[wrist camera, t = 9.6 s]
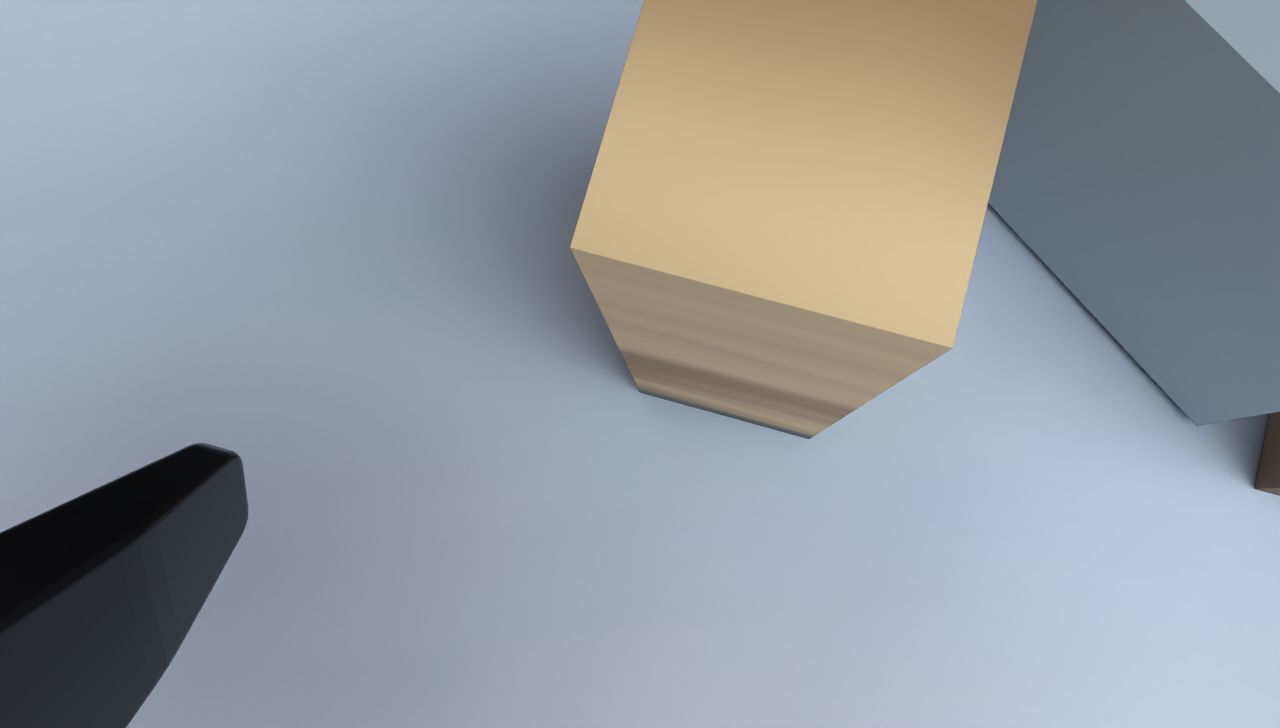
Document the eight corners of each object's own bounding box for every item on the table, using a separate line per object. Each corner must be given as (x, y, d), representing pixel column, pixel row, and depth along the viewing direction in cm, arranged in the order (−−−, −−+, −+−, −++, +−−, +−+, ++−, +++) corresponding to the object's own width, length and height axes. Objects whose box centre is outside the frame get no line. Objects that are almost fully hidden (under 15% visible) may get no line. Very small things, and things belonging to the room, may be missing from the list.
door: (1196, 425, 21) (1557, 364, 12) (806, 8, 23) (873, -304, 14) (1236, 391, 21) (1624, 305, 12) (844, -23, 23) (935, -353, 14)
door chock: (809, 438, 22) (952, 347, 10) (640, 392, 22) (569, 247, 10) (862, 232, 23) (1061, -100, 10) (697, 191, 23) (698, -179, 11)
